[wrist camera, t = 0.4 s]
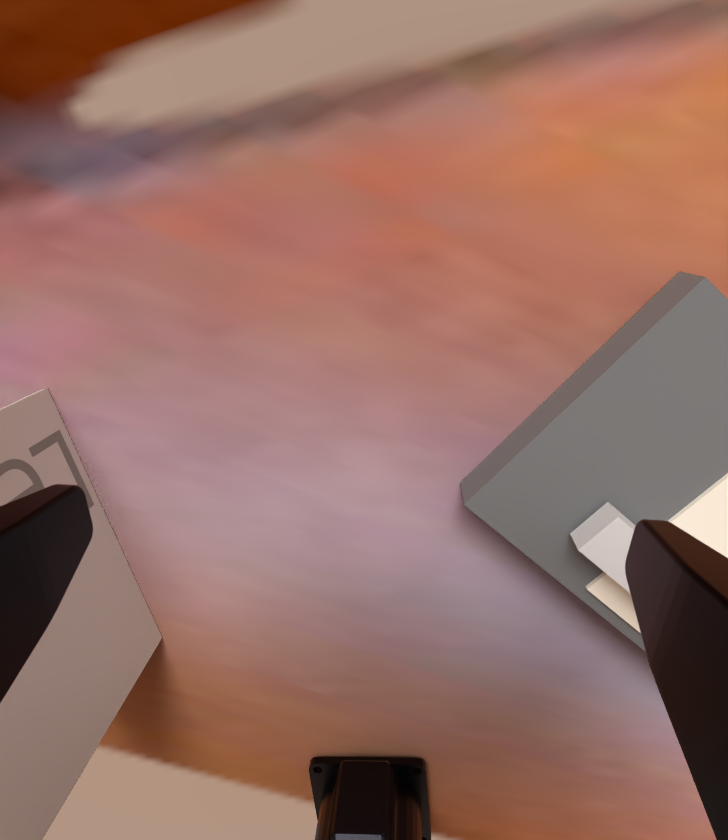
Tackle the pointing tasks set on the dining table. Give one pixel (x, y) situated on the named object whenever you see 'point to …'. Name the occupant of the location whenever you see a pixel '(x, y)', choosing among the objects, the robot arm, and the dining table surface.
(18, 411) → the brochure
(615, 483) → the board
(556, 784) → the dining table surface
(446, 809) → the dining table surface
